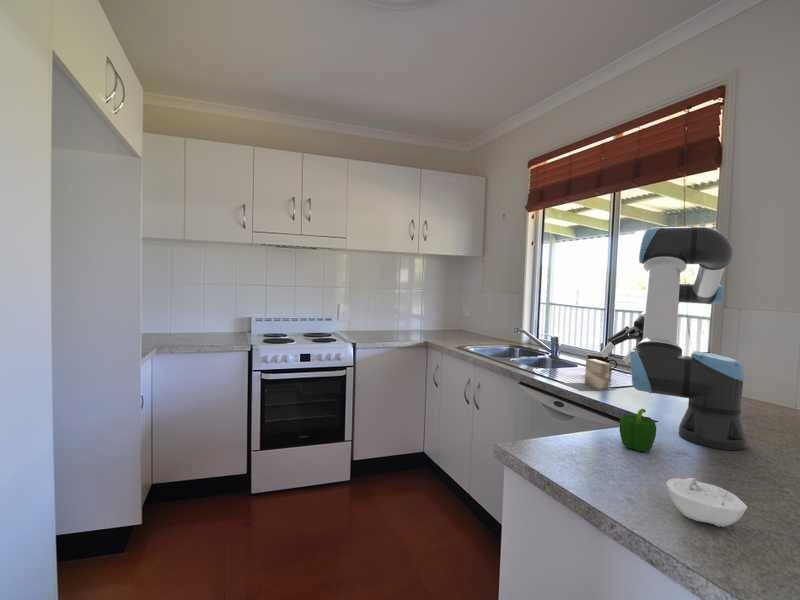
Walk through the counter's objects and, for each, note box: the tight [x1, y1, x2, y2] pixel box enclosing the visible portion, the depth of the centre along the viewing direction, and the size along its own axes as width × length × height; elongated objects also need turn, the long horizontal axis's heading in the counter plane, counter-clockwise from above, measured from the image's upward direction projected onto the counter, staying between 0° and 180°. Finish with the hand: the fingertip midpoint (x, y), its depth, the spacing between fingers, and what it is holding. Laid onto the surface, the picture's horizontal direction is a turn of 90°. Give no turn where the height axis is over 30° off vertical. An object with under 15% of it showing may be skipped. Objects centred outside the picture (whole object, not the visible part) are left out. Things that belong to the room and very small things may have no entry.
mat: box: [562, 382, 616, 392], centre depth 172 cm, size 16×12×1 cm
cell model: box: [665, 477, 748, 528], centre depth 78 cm, size 10×12×7 cm
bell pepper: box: [618, 408, 657, 453], centre depth 110 cm, size 8×8×10 cm
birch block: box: [584, 358, 611, 389], centre depth 173 cm, size 4×9×10 cm, turn 12°
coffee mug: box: [586, 352, 618, 372], centre depth 191 cm, size 12×9×10 cm
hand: (613, 358), depth 175 cm, fingers open, 13 cm apart
